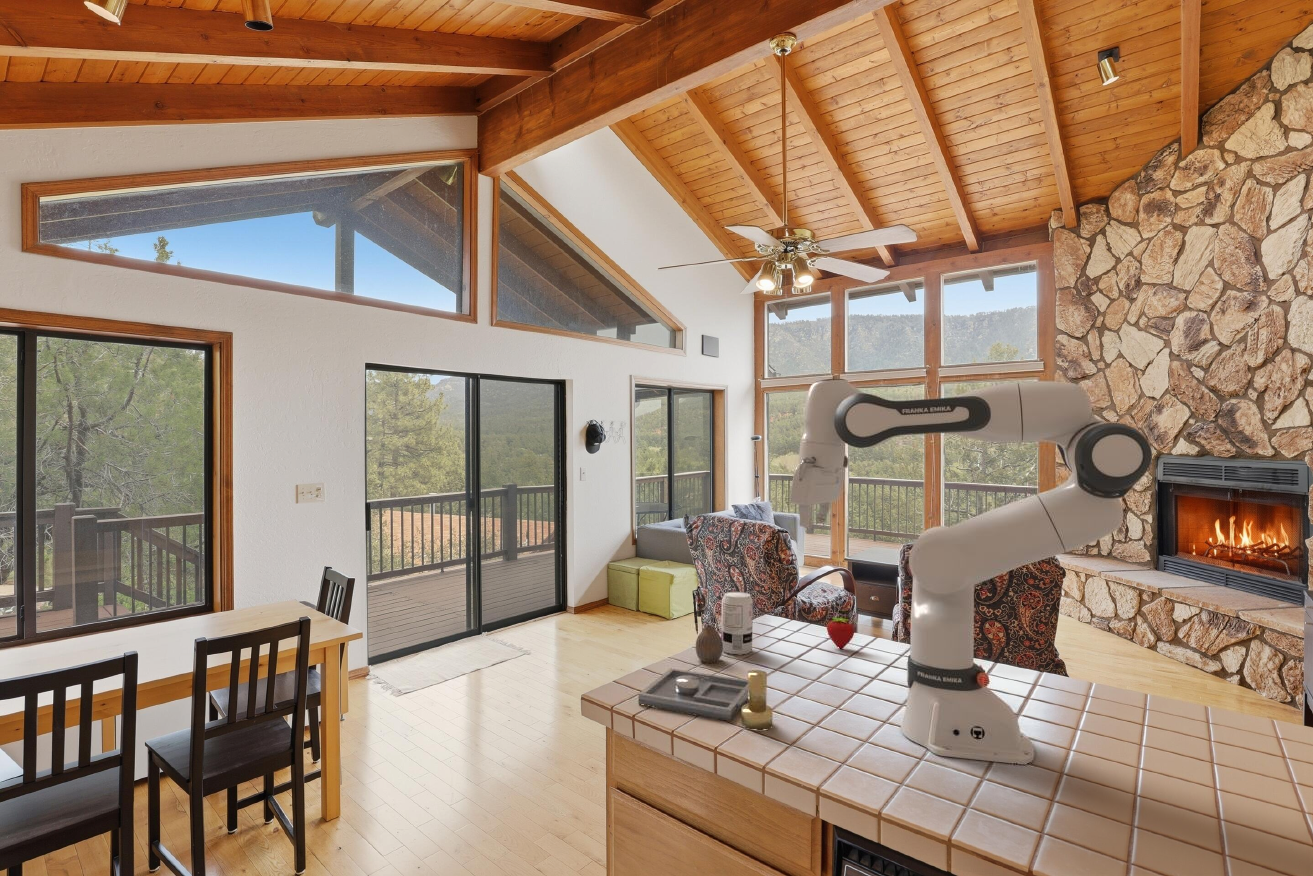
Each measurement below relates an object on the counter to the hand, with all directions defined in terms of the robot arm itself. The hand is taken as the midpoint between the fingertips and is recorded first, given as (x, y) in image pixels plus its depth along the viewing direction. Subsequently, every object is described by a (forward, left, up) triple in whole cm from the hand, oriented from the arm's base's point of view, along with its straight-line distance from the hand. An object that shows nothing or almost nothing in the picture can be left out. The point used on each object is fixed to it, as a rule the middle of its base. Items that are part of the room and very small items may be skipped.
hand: (813, 524), depth 135 cm
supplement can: (+26, -34, -39) cm, 58 cm away
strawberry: (+1, -48, -39) cm, 62 cm away
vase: (+30, -23, -39) cm, 54 cm away
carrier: (+24, +2, -39) cm, 45 cm away
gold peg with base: (+9, +10, -39) cm, 41 cm away
